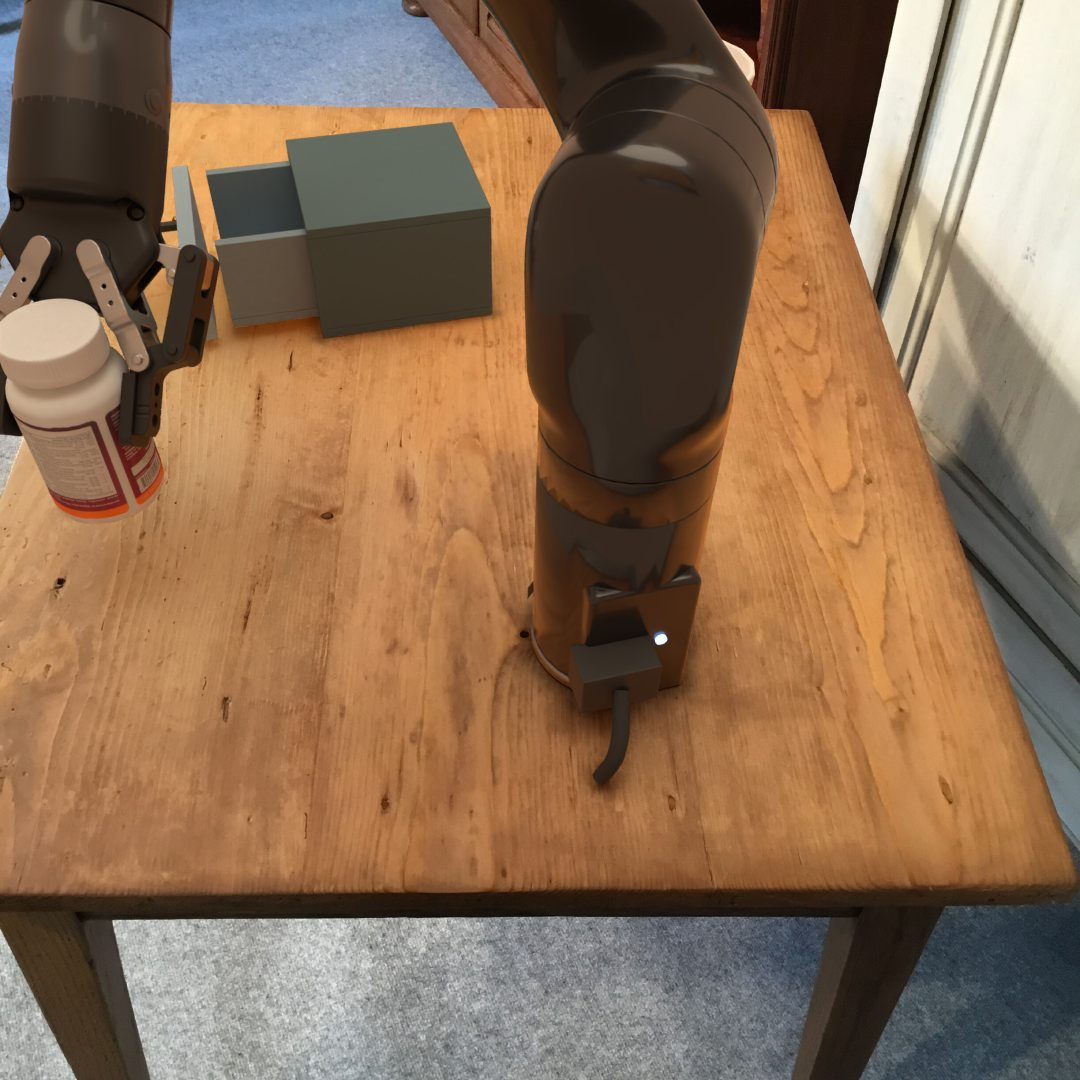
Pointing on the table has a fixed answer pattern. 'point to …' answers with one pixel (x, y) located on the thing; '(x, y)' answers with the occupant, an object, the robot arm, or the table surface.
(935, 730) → the table surface
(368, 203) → the cabinet
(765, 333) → the table surface
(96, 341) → the pill bottle
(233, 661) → the table surface
